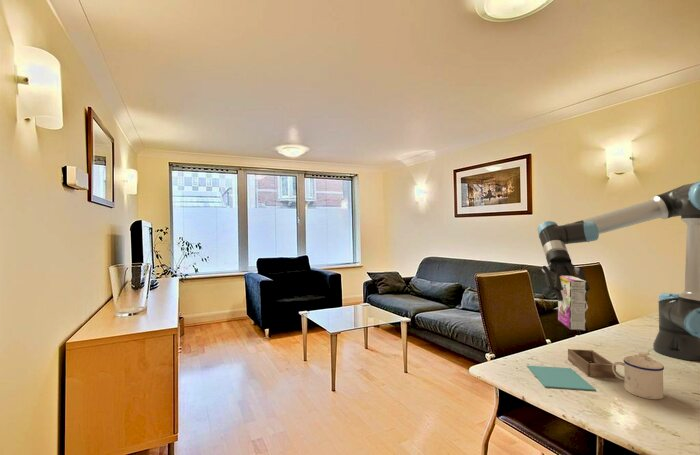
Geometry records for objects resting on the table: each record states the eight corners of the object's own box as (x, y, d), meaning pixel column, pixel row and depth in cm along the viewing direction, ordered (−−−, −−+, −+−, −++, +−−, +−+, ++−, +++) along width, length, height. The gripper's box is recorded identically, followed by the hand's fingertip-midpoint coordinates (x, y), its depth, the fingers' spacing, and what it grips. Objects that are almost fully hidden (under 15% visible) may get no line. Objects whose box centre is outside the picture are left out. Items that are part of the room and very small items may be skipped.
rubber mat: (570, 369, 117) (570, 368, 117) (595, 390, 102) (595, 389, 102) (527, 366, 120) (527, 365, 120) (544, 387, 104) (544, 386, 104)
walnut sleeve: (592, 361, 125) (592, 350, 125) (615, 377, 111) (615, 365, 111) (567, 359, 126) (567, 349, 126) (587, 376, 112) (587, 363, 112)
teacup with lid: (667, 393, 100) (666, 353, 100) (661, 403, 94) (660, 361, 94) (616, 379, 109) (616, 343, 109) (607, 388, 103) (607, 349, 103)
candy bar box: (556, 320, 123) (557, 274, 123) (572, 321, 122) (573, 275, 122) (569, 329, 112) (570, 279, 112) (586, 331, 111) (587, 280, 111)
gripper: (580, 262, 130) (602, 316, 114) (528, 260, 134) (543, 313, 118) (587, 249, 125) (611, 304, 109) (533, 248, 128) (549, 301, 112)
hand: (575, 309), depth 113 cm, fingers closed on candy bar box, 5 cm apart
